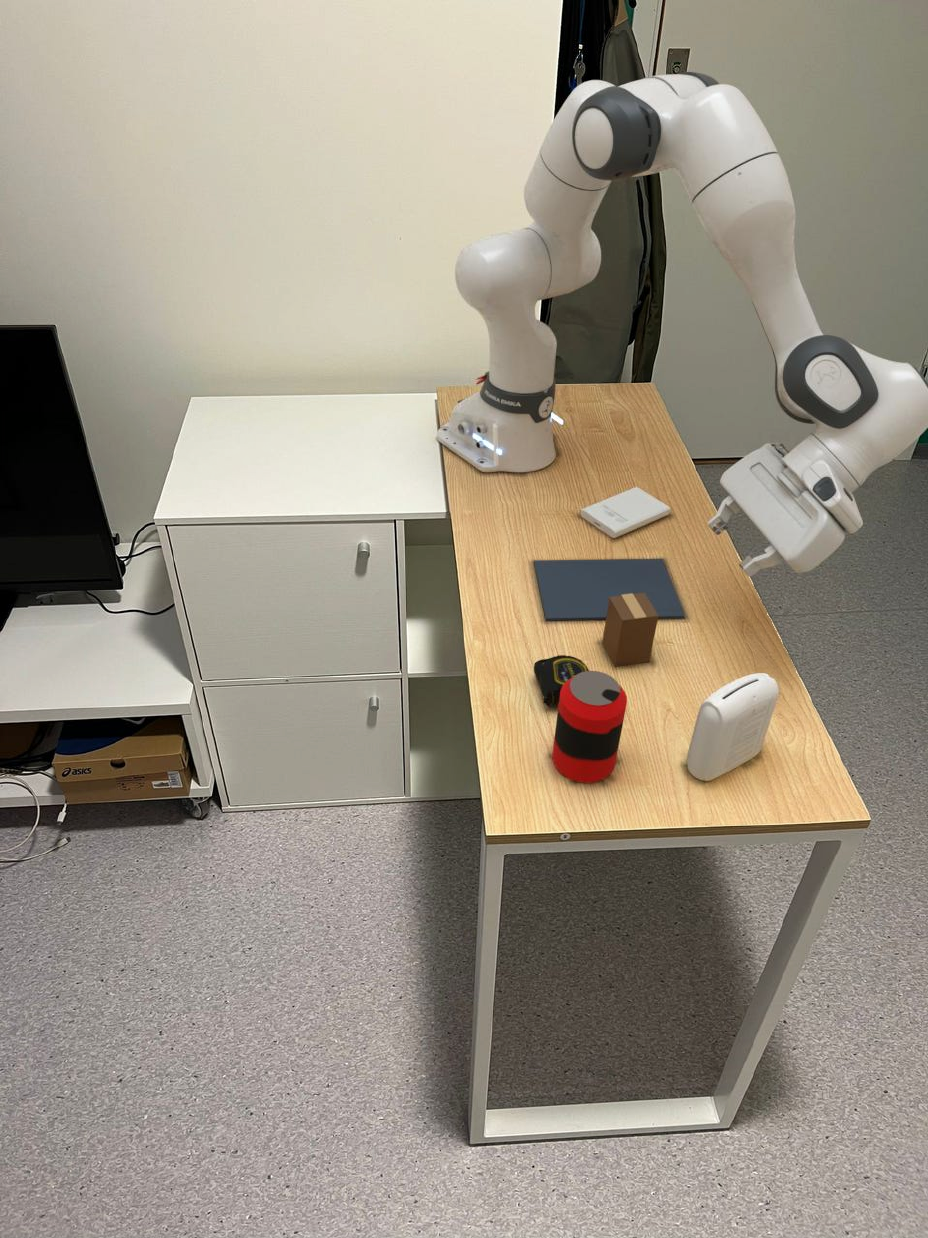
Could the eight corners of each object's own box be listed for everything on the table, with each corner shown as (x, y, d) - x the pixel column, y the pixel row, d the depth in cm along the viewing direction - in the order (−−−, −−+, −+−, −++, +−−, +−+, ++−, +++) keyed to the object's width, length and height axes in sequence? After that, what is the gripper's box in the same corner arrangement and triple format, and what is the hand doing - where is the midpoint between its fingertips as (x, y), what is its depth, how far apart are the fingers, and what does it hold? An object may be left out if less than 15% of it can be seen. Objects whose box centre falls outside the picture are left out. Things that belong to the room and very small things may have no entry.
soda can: (597, 794, 111) (610, 721, 104) (540, 767, 114) (549, 694, 107) (625, 754, 117) (639, 681, 109) (569, 729, 120) (580, 656, 112)
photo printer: (739, 732, 120) (761, 657, 112) (765, 753, 117) (789, 679, 109) (678, 765, 115) (697, 689, 108) (704, 788, 113) (725, 712, 105)
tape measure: (531, 676, 127) (533, 654, 125) (582, 672, 128) (584, 650, 125) (541, 712, 122) (544, 690, 119) (594, 708, 123) (597, 686, 120)
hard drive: (669, 516, 158) (614, 539, 152) (634, 493, 163) (579, 516, 157) (670, 507, 157) (615, 531, 151) (635, 485, 162) (580, 507, 156)
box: (601, 642, 133) (609, 596, 128) (635, 637, 134) (644, 591, 129) (614, 666, 129) (622, 620, 124) (649, 661, 130) (658, 615, 125)
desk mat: (545, 621, 136) (546, 618, 136) (533, 563, 147) (533, 560, 146) (684, 618, 137) (685, 615, 137) (662, 561, 148) (662, 558, 148)
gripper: (764, 422, 126) (682, 494, 130) (847, 505, 110) (750, 584, 114) (787, 450, 129) (706, 518, 133) (870, 534, 114) (776, 608, 118)
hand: (727, 549), depth 124 cm, fingers open, 8 cm apart
